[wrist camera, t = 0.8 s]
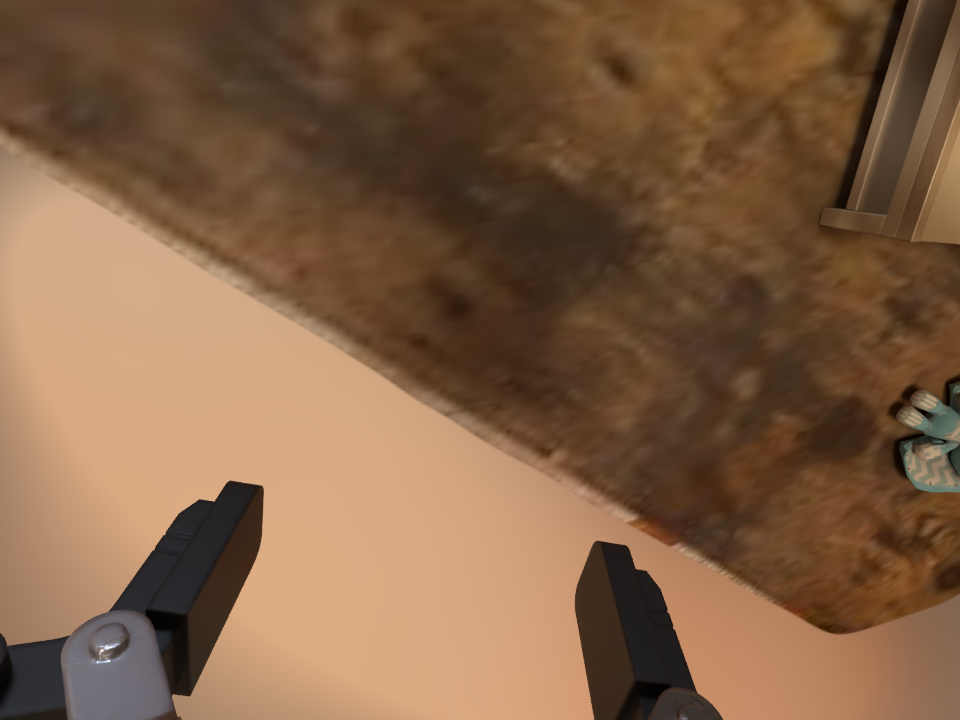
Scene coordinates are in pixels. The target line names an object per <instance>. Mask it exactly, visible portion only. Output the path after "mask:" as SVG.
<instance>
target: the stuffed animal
mask: <svg viewBox="0 0 960 720" xmlns="http://www.w3.org/2000/svg"><path fill="white" fill-rule="evenodd" d="M949 387H950V406H945V405H944V404H942V402H941V401H940V400H939V399H938V397H937V396H935V395H933V394H932V393H930V392H928V391H927V390H921V389H919V390H917V391H916V392H915V393H913V394H912V396H911V398H910V402H911V403H912V405H914V406H916V407H918V408H920V409H922V410H925V411H928V413H926V414H925V416H923V415H922V414H921V413H920V412H919V411H917V410H916V409H914V408H912V407H911V406H904V407H902V408H901V409H900V410H899V411H898V413H897V415H896V418H897V420H898V421H899V422H901V423H902V424H904V425H906V426H908V427H910V428H913V429H918V430H921V431H923V433H924V434H925V435H929V436H932V437H935V438H939V439H944V440H946V443H943V441H941V440H938V439H935V438H932V437H929V436H922V437H918V438H914V439H911V440H907V441H901V442H900V448H899V449H900V453H901V457H902V461H903V466H904V468H905V471H906V474H907V476H908V477H909V479H910V480H911V481H912V483H913V484H914V485H915V487H916V488H917V489H920V490H924V491H929V492H960V381H958V382H955V383H953V384H951V385H949ZM950 450H951V453H950V454H949V451H950Z"/></svg>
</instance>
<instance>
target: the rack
mask: <svg viewBox="0 0 960 720" xmlns="http://www.w3.org/2000/svg"><path fill="white" fill-rule="evenodd" d="M819 225H823V226H829V227H834V228H840V229H845V230H850V231H856V232H861V233H866V234H872V235H877V236H882V237H888V238H893V239H898V240H904V241H909V242H920V241H925V242H936V243H948V244H959V245H960V0H909V1H908V4H907V7H906V11H905V14H904V17H903V20H902V24H901V27H900V30H899V34H898V37H897V40H896V44H895V47H894V50H893V53H892V57H891V60H890V63H889V67H888V70H887V73H886V77H885V80H884V83H883V87H882V90H881V93H880V96H879V100H878V103H877V106H876V110H875V113H874V116H873V120H872V123H871V126H870V129H869V133H868V136H867V139H866V143H865V146H864V149H863V153H862V156H861V159H860V163H859V166H858V169H857V172H856V176H855V179H854V182H853V186H852V189H851V192H850V196H849V199H848V202H847V205H846V209H838V208H827V207H824V208H823V211H822V215H821V218H820V222H819Z"/></svg>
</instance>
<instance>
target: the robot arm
mask: <svg viewBox="0 0 960 720" xmlns="http://www.w3.org/2000/svg"><path fill="white" fill-rule="evenodd" d="M263 496H264V489H263V487H262V486H260V485H254V484H248V483H242V482H235V481H229V482H227V483H226V485H225V486H224V488H223V489H222V491H221V493H220V494H219V496H218V497H217V499H216V500H215V502H213V501H207V500H200V499H199V500H198V501H197V502H195V503H194V504H192V505H191V506H190V507H188V508H186V509H185V510H183V511H182V512H181V513H179V514H178V516H177V517H176V519H175V520H174V521H173V523H172V524H171V526H170V527H169V528H168V530H167V531H166V534H165V535H164V536H163V537H162V538H161V540H160V541H159V542H158V544H157V545H156V547H155V550H153V551H152V552H151V554H150V555H149V557H148V558H147V559H146V561H145V562H144V564H143V565H142V566H141V568H140V569H139V571H138V572H137V573H136V575H135V576H134V578H133V579H132V581H131V582H130V583H129V585H128V587H126V589H125V590H124V592H123V593H122V595H121V596H120V598H119V599H118V600H117V602H116V603H115V604H114V606H113V607H112V608H111V609H110V611H109V612H107V613H103V614H101V615H98V616H96V617H94V618H92V619H90V620H88V621H87V622H85V623H84V624H82V625H81V626H80V627H78V628H77V629H76V630H75V631H74V632H73V633H72V634H71V635H70V636H66V637H63V638H58V639H53V640H46V641H39V642H32V643H25V644H18V645H11V646H7V643H6V641H5V638H4V637H3V636H2V634H0V720H182V719H181V718H180V717H177V714H176V711H175V708H174V703H173V700H172V695H173V694H175V695H183V696H190V695H191V693H192V691H193V689H194V687H195V685H196V683H197V681H198V679H199V677H200V675H201V673H202V671H203V668H204V666H205V664H206V662H207V660H208V658H209V656H210V654H211V652H212V650H213V648H214V646H215V643H216V641H217V639H218V637H219V635H220V633H221V631H222V629H223V627H224V625H225V623H226V621H227V618H228V616H229V614H230V612H231V610H232V608H233V606H234V604H235V602H236V600H237V598H238V596H239V593H240V591H241V589H242V587H243V585H244V583H245V581H246V579H247V577H248V575H249V573H250V571H251V568H252V566H253V564H254V562H255V560H256V557H257V554H258V551H259V547H260V543H261V537H262V520H263ZM575 611H576V618H577V623H578V629H579V635H580V640H581V646H582V652H583V657H584V663H585V669H586V675H587V680H588V685H589V691H590V697H591V703H592V709H593V714H594V720H723V719H722V717H721V715H720V714H719V712H718V711H717V710H716V709H715V707H714V706H713V705H712V704H711V703H710V702H709V701H707V700H706V699H705V698H704V697H702V696H701V695H699V694H698V693H697V691H696V689H695V686H694V683H693V680H692V677H691V675H690V672H689V669H688V666H687V663H686V661H685V657H684V654H683V652H682V649H681V646H680V643H679V640H678V637H677V635H676V632H675V630H674V629H673V623H672V621H671V618H670V615H669V613H667V606H666V603H665V601H664V598H663V595H662V592H661V589H660V588H659V587H658V585H657V584H656V583H655V582H654V580H653V579H652V578H651V576H650V575H649V574H648V573H647V571H643V570H637V569H635V566H634V562H633V559H632V556H631V553H630V550H629V548H628V547H627V546H626V545H620V544H614V543H607V542H602V541H596V542H594V544H593V546H592V548H591V551H590V553H589V556H588V558H587V562H586V564H585V566H584V569H583V571H582V574H581V577H580V579H579V582H578V585H577V588H576V594H575Z"/></svg>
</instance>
